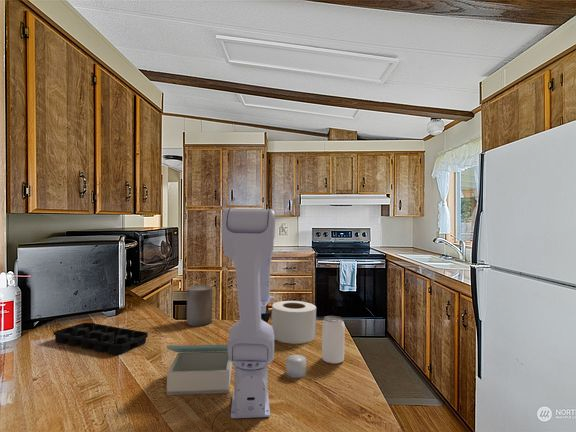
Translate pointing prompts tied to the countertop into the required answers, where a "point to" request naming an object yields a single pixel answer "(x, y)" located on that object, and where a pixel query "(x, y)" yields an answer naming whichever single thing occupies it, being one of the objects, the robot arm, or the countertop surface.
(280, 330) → the toilet paper roll
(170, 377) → the box
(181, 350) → the lid
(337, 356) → the can
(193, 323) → the pillar candle
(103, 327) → the black muffin tray
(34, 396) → the countertop surface
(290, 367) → the grey rounded dome
